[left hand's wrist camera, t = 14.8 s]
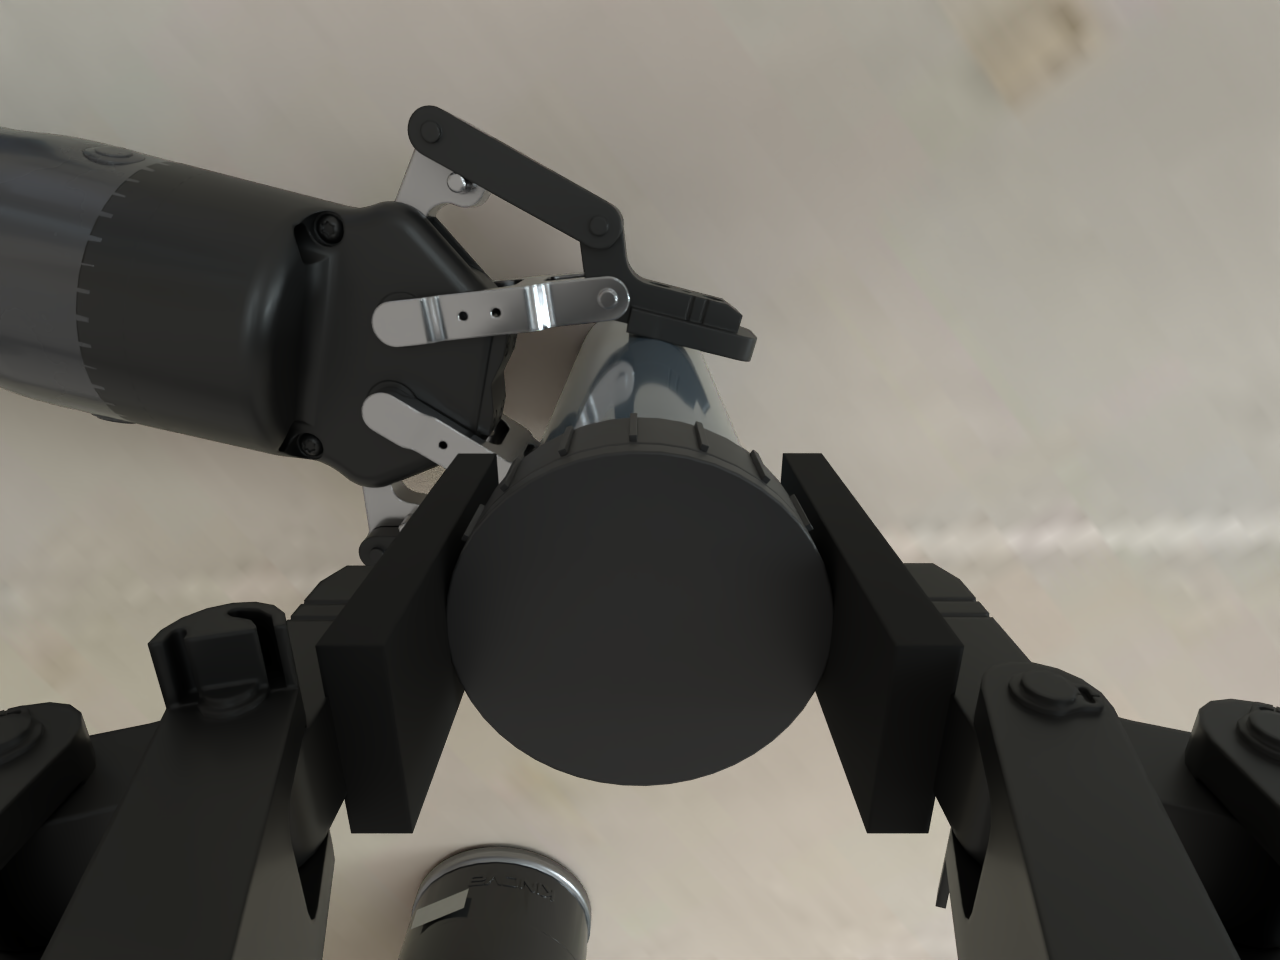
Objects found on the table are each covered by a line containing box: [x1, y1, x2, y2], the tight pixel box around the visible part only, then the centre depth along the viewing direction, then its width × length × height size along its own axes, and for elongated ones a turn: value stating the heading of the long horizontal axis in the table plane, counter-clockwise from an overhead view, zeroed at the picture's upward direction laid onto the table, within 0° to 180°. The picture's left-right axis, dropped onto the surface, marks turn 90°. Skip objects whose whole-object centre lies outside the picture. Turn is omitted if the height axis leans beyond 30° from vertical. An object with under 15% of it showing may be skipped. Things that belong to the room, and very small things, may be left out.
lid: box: [446, 413, 834, 786], centre depth 11 cm, size 6×6×2 cm
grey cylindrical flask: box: [539, 320, 742, 447], centre depth 19 cm, size 5×5×18 cm
